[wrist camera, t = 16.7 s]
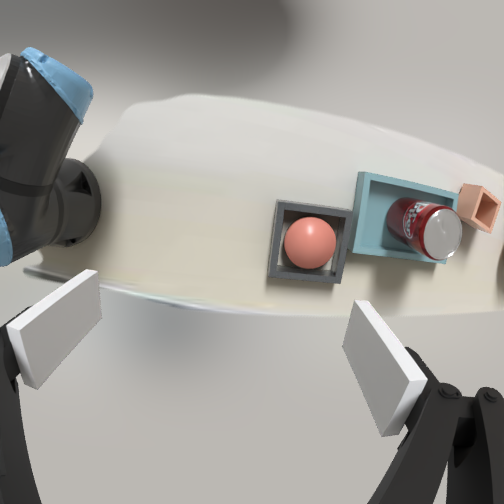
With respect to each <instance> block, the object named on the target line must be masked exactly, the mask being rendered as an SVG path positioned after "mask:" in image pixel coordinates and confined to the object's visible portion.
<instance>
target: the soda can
mask: <svg viewBox="0 0 504 504" xmlns="http://www.w3.org/2000/svg"><path fill="white" fill-rule="evenodd" d="M386 224H387V228H388V231H389V233H390V235H391V236H392V237H393V238H394V239H396V240H397V241H399V242H401V243H403V244H405V245H406V246H408V247H410V248H412V249H414V250H415V251H417V252H419V253H421V254H422V255H424V256H426V257H428V258H429V259H432V260H435V261H441V260H445V259H447V258H449V257H450V256H451V255H452V254H453V253H454V252H455V251H456V250H457V248H458V246H459V244H460V242H461V238H462V225H461V220H460V218H459V216H458V214H457V213H456V212H455V211H454V210H453V209H452V208H450V207H448V206H444V205H440V204H436V203H432V202H428V201H423V200H419V199H415V198H410V197H403V198H399V199H397V200H396V201H395V202H394V203H393V204H392V205H391V206H390V208H389V210H388V213H387V217H386Z"/></svg>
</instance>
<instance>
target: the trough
mask: <svg viewBox="0 0 504 504" xmlns="http://www.w3.org/2000/svg"><path fill="white" fill-rule="evenodd" d="M403 197H410V198H415V199H419V200H423V201H428V202H432V203H436V204H440V205H444V206H448V207H450V208H452V209H453V210H454V211H455V212H456V210H457V204H458V197H459V194H456V193H453V192H449V191H446V190H442V189H438V188H434V187H430V186H426V185H422V184H418V183H414V182H410V181H406V180H401V179H397V178H392V177H388V176H383V175H378V174H373V173H368V172H358V179H357V187H356V194H355V201H354V208H353V218H352V224H351V230H350V236H349V242H348V249H349V250H350V251H351V252H352V253H359V254H368V255H376V256H385V257H393V258H401V259H410V260H418V261H426V262H434V263H442V264H446V260H447V259H445V260H441V261H435V260H432V259H429V258H428V257H426V256H424V255H422V254H421V253H419V252H417V251H415V250H414V249H412V248H410V247H408V246H406V245H405V244H403V243H401V242H399V241H397V240H396V239H394V238H393V237H392V236H391V235H390V233H389V231H388V228H387V224H386V217H387V213H388V210H389V208H390V206H391V205H392V204H393V203H394V202H395V201H396V200H397V199H399V198H403Z"/></svg>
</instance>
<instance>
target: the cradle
mask: <svg viewBox="0 0 504 504" xmlns="http://www.w3.org/2000/svg"><path fill="white" fill-rule="evenodd" d="M284 209H285V210H293V211H301V212H309V213H316V214H324V215H331V216H338V217H340V221H339V227H338V233H337V239H336V247H335V251H334V257H333V262H332V268H331V271H330V270H320V269H306V268H300V267H291V266H281V265H277V262H278V255H279V248H280V240H281V232H282V225H283V217H284ZM352 218H353V211H351V210H348V209H344V208H337V207H330V206H323V205H316V204H308V203H301V202H293V201H285V200H277V201H276V209H275V217H274V226H273V234H272V242H271V250H270V257H269V265H268V276H269V277H275V278H285V279H295V280H305V281H316V282H327V283H338V284H340V283H341V279H342V274H343V269H344V264H345V258H346V253H347V248H348V242H349V236H350V230H351V224H352Z"/></svg>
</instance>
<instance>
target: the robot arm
mask: <svg viewBox="0 0 504 504" xmlns="http://www.w3.org/2000/svg"><path fill="white" fill-rule="evenodd" d="M20 56H21V57H18V56H15V55H13V54H10V53H7V54H5V55H3V56H1V57H0V267H1V266H2V267H4V266H7V265H9V264H10V263H12V262H14V261H16V260H18V259H20V258H22V257H24V256H26V255H28V254H30V253H32V252H34V251H36V250H38V249H40V248H43V247H45V246H54V247H70V246H73V245H75V244H77V243H80V242H82V241H83V240H85V239H86V238H87V237H88V236H89V235H90V234H91V233H92V231H93V230H94V228H95V226H96V224H97V222H98V219H99V215H100V209H101V195H100V190H99V186H98V183H97V180H96V178H95V176H94V175H93V173H92V172H91V170H90V169H89V168H88V167H87V166H86V165H85V164H83V163H82V162H80V161H78V160H75V159H69V158H65V157H66V155H67V152H68V150H69V148H70V145H71V143H72V141H73V139H74V137H75V135H76V133H77V131H78V128H79V127H80V125H82V123H83V118H84V116H85V113H86V111H87V109H88V107H89V105H90V103H91V101H92V99H93V89H92V86H91V85H90V84H89V83H88V82H87V81H86V80H85V79H84V78H82V77H81V76H79V75H78V74H77V73H75V72H74V71H72V70H71V69H69V68H68V67H66V66H65V65H63V64H61V63H60V62H58V61H56V60H55V59H53V58H50V57H49V56H47V55H45V54H43V53H42V52H40V51H39V50H37V49H34V48H31V47H28V48H26V49H25V50H24V51H23V52H21V54H20ZM101 319H102V314H101V304H100V292H99V278H98V271H94V270H88V269H86V270H84V271H83V272H81V273H80V274H78V275H77V276H75V277H74V278H72V279H71V280H69V281H68V282H66V283H65V284H63V285H62V286H60V287H59V288H57V289H56V290H55V291H53V292H52V293H50V294H49V295H47V296H46V297H44V298H43V299H42V300H40V301H39V302H37V303H36V304H35V305H32V306H30V307H27V308H26V309H25V310H23V311H22V312H21V313H19V314H18V315H17V316H16V317H14V318H12V319H11V320H10V321H8V322H7V323H6V324H4V325H3V326H2V327H0V504H42V503H41V500H40V497H39V494H38V490H37V487H36V484H35V480H34V476H33V473H32V469H31V464H30V460H29V456H28V451H27V446H26V441H25V435H24V429H23V423H22V417H21V409H20V399H19V389H18V383H17V380H16V376H17V375H18V374H19V373H21V376H22V379H23V381H24V384H25V385H28V386H30V387H32V388H35V389H37V390H38V389H39V388H40V386H41V385H42V384H43V383H44V382H45V380H46V379H47V378H48V377H49V376H50V375H51V374H52V372H53V371H54V370H55V369H56V368H57V367H58V366H59V365H60V363H61V362H62V361H63V360H64V359H65V358H66V357H67V355H68V354H69V353H70V352H71V351H72V350H73V349H74V348H75V347H76V345H77V344H78V343H79V342H80V341H81V340H82V339H83V338H84V337H85V336H86V335H87V334H88V332H89V331H90V330H91V329H92V328H93V327H94V326H95V325H96V324H97V323H98V322H99V321H100V320H101ZM342 347H343V349H344V352H345V354H346V356H347V358H348V361H349V363H350V365H351V367H352V369H353V371H354V374H355V376H356V378H357V381H358V383H359V385H360V387H361V390H362V392H363V395H364V397H365V399H366V401H367V404H368V406H369V408H370V411H371V413H372V416H373V418H374V420H375V423H376V425H377V428H378V429H379V432H380V435H381V437H385V436H392V435H398V434H399V433H400V431H401V429H402V428H403V426H404V424H405V425H406V427H407V429H408V432H407V434H406V436H405V437H404V439H403V440H402V442H401V444H400V445H399V447H398V448H397V449H398V452H397V454H396V455H395V457H394V459H393V461H392V463H391V465H390V467H389V469H388V470H387V472H386V474H385V476H384V477H383V479H382V481H381V483H380V484H379V486H378V487H377V489H376V491H375V493H374V494H373V496H372V497H371V499H370V500H369V502H368V503H367V504H433V502H434V499H435V497H436V494H437V491H438V488H439V486H440V483H441V480H442V477H443V474H444V471H445V468H446V464H447V461H448V477H447V497H446V504H504V398H503V397H502V395H501V394H500V393H499V392H498V391H497V390H495V389H494V388H489V387H483V388H480V389H479V390H478V392H477V394H476V396H475V397H464V396H462V394H461V392H460V391H459V390H458V389H457V388H456V387H454V386H453V385H450V384H447V383H439V381H438V380H437V379H436V377H435V376H434V375H433V373H432V372H431V371H430V370H429V368H428V367H426V364H425V363H424V362H423V361H422V359H421V358H420V356H419V355H418V354H417V353H416V352H415V351H413V350H412V349H410V348H409V347H404V346H403V345H402V344H401V342H400V341H399V340H398V339H397V337H396V336H395V335H394V333H393V332H392V331H391V329H390V328H389V327H388V326H387V325H386V323H385V322H384V320H383V319H382V318H381V317H380V315H379V314H378V313H377V312H376V310H375V309H374V308H373V307H372V305H371V304H370V303H369V302H368V301H363V300H354V303H353V307H352V311H351V315H350V319H349V323H348V327H347V331H346V334H345V338H344V342H343V345H342Z"/></svg>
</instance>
